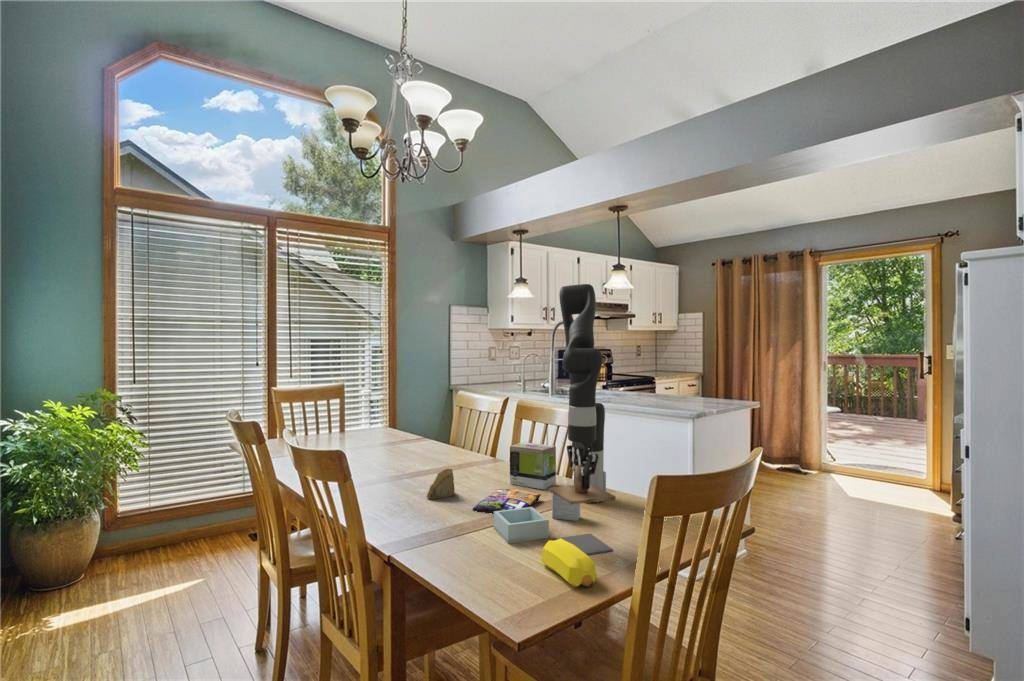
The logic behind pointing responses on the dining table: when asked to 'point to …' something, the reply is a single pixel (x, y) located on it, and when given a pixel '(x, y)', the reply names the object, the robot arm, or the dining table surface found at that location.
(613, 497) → the lid
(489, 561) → the dining table surface
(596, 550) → the mat
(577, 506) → the medicine box
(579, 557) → the yellow faceted long part
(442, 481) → the rock
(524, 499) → the food package
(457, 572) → the dining table surface
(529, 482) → the tea box
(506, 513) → the dish
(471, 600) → the dining table surface
